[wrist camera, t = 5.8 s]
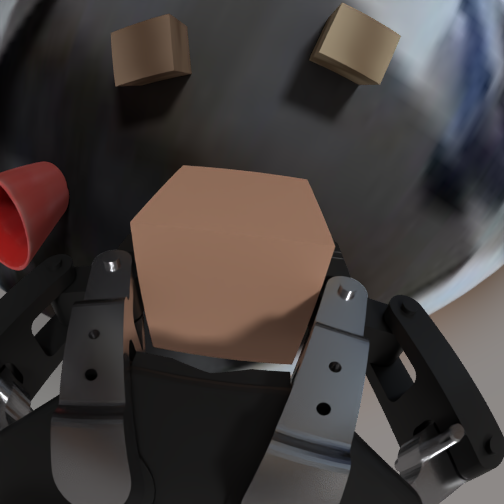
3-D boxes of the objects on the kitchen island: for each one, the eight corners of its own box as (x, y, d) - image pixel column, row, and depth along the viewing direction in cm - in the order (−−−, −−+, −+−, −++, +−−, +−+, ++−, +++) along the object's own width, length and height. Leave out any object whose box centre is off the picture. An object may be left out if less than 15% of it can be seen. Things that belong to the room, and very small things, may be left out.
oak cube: (308, 60, 19) (319, 52, 15) (328, 18, 16) (342, 2, 12) (358, 85, 19) (379, 84, 15) (377, 43, 17) (400, 35, 13)
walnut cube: (141, 85, 20) (115, 86, 16) (137, 40, 18) (110, 32, 13) (191, 74, 20) (174, 70, 16) (187, 26, 17) (169, 13, 13)
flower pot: (91, 177, 25) (35, 217, 17) (66, 242, 30) (25, 287, 22) (35, 133, 22) (-23, 159, 14) (18, 200, 27) (-26, 235, 19)
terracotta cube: (183, 265, 13) (153, 346, 9) (183, 165, 10) (130, 222, 6) (285, 277, 13) (291, 364, 9) (307, 179, 10) (335, 246, 6)
